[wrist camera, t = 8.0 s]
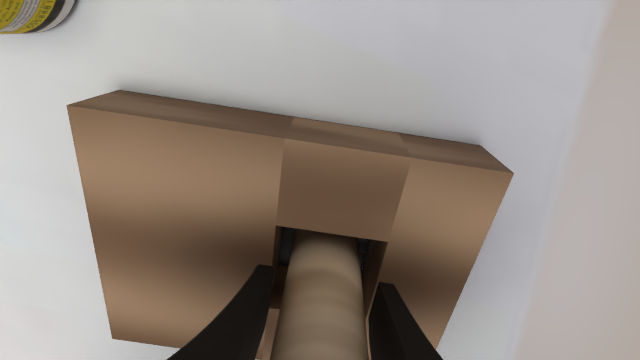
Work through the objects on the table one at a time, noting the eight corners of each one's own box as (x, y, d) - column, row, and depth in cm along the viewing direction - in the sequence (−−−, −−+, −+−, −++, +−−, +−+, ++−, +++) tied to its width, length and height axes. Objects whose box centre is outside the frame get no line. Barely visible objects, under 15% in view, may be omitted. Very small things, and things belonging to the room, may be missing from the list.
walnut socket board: (409, 332, 20) (421, 382, 17) (144, 294, 19) (112, 338, 17) (480, 145, 14) (513, 173, 12) (118, 90, 14) (66, 105, 11)
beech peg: (351, 264, 18) (362, 470, 9) (292, 256, 18) (253, 455, 9) (362, 214, 16) (388, 405, 8) (299, 205, 16) (260, 387, 8)
